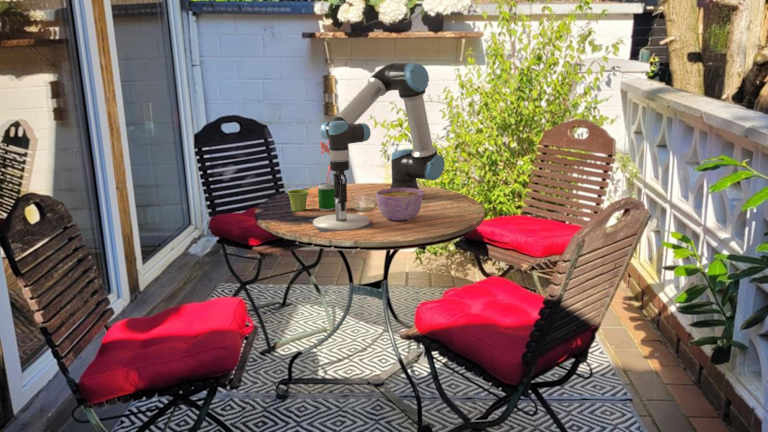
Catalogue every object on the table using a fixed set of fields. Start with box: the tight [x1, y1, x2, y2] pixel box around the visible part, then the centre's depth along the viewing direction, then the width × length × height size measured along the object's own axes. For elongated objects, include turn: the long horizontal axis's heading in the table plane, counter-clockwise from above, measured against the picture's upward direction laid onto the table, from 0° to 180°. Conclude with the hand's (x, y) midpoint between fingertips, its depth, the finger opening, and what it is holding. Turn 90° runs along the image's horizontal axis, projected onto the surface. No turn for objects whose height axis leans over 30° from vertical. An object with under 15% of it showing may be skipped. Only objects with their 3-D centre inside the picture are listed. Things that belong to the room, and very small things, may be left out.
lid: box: [312, 198, 371, 231], centre depth 288 cm, size 23×23×10 cm
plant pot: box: [286, 189, 309, 213], centre depth 315 cm, size 9×9×9 cm
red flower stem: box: [319, 140, 333, 183], centre depth 336 cm, size 15×26×35 cm, turn 179°
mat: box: [309, 218, 375, 233], centre depth 290 cm, size 22×22×1 cm
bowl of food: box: [375, 188, 424, 222], centre depth 295 cm, size 20×20×12 cm
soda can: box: [317, 182, 336, 212], centre depth 313 cm, size 8×8×12 cm
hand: (341, 217), depth 289 cm, fingers closed on lid, 4 cm apart
